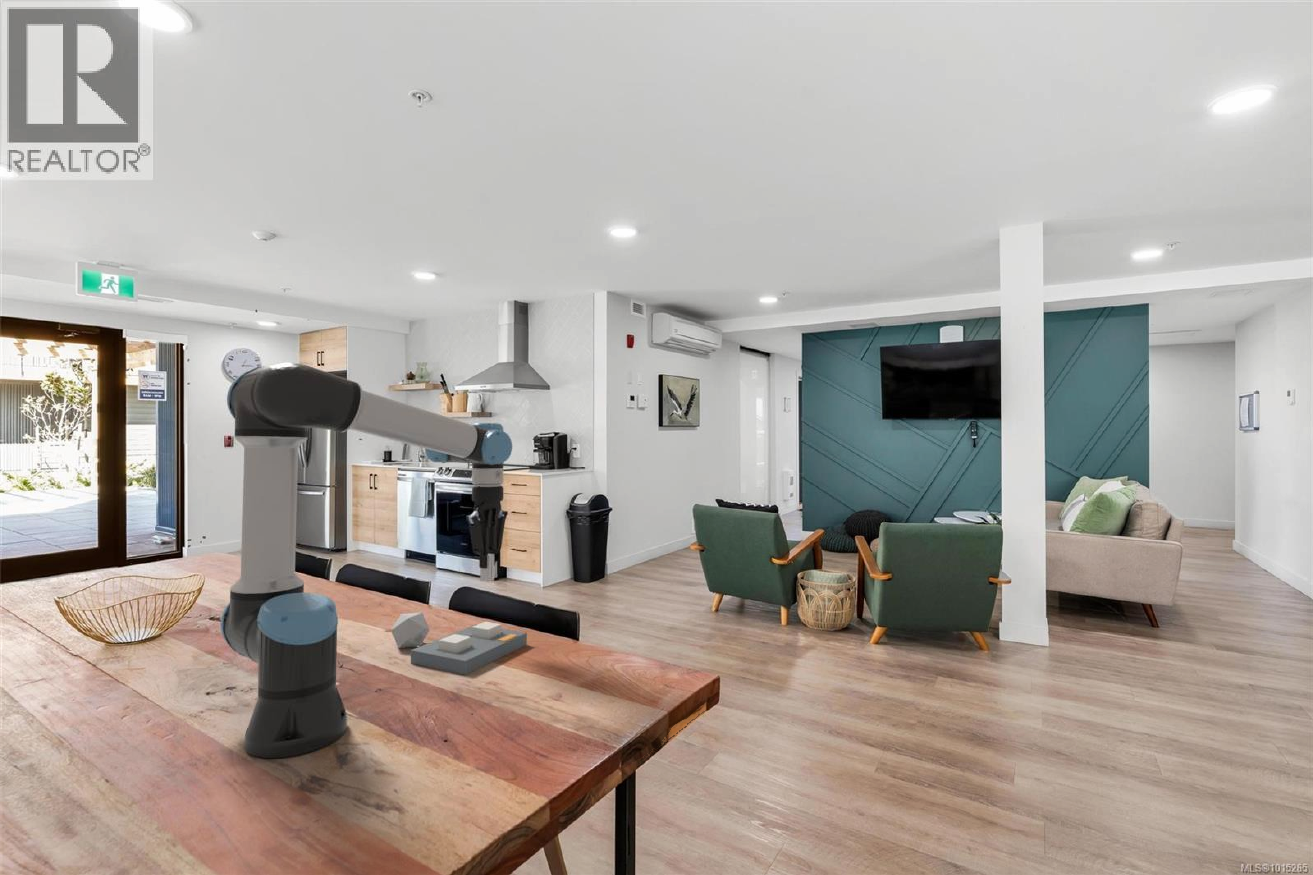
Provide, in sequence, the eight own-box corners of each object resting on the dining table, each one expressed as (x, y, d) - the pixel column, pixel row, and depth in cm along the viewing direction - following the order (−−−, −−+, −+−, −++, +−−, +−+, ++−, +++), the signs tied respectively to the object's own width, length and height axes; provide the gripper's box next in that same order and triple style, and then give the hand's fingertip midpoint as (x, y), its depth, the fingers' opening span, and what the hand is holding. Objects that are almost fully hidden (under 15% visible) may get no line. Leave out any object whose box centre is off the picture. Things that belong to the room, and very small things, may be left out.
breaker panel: (465, 674, 134) (465, 660, 134) (410, 663, 141) (410, 649, 141) (526, 644, 154) (526, 631, 154) (476, 635, 161) (476, 623, 161)
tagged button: (487, 643, 149) (488, 629, 149) (471, 640, 151) (471, 627, 151) (501, 637, 153) (501, 624, 153) (485, 634, 156) (485, 621, 156)
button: (455, 657, 139) (455, 643, 139) (438, 654, 141) (438, 640, 141) (470, 650, 143) (471, 636, 143) (454, 647, 146) (454, 633, 146)
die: (410, 656, 147) (434, 619, 151) (379, 638, 147) (404, 602, 151) (416, 657, 154) (439, 622, 158) (386, 640, 155) (410, 605, 158)
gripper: (481, 487, 145) (480, 587, 145) (517, 484, 157) (516, 576, 157) (456, 486, 148) (456, 584, 148) (493, 483, 160) (492, 573, 160)
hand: (487, 580), depth 152 cm, fingers closed
